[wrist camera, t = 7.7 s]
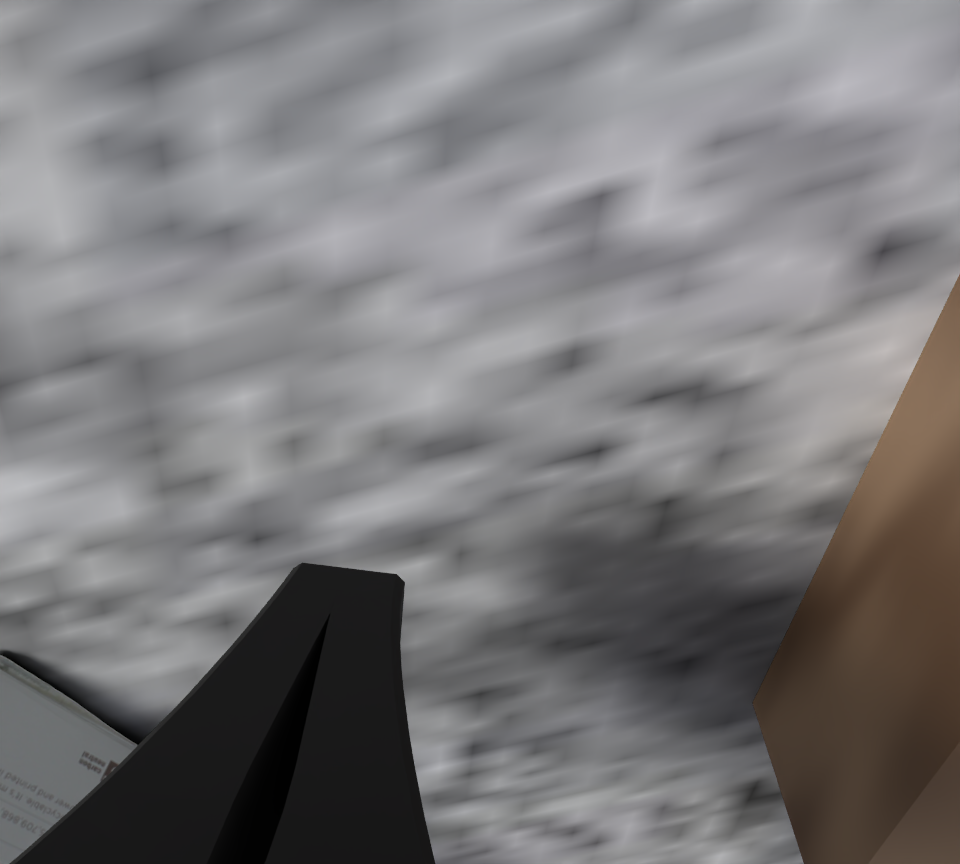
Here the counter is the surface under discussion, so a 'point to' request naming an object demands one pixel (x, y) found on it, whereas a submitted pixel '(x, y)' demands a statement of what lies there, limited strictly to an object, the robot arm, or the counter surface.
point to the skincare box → (46, 757)
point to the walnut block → (881, 647)
